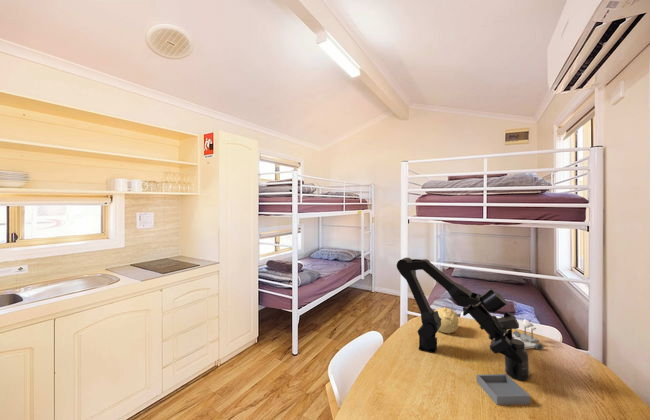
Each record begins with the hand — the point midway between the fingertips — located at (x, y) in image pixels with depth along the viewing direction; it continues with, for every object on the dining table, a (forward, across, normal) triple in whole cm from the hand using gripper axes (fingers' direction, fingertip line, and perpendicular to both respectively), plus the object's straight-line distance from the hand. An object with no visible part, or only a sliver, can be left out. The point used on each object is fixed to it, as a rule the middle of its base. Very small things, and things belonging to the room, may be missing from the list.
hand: (521, 357), depth 90 cm
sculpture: (-16, +22, +26) cm, 37 cm away
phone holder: (+4, +26, +6) cm, 28 cm away
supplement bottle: (+4, 0, +6) cm, 7 cm away
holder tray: (+1, -13, +8) cm, 16 cm away
